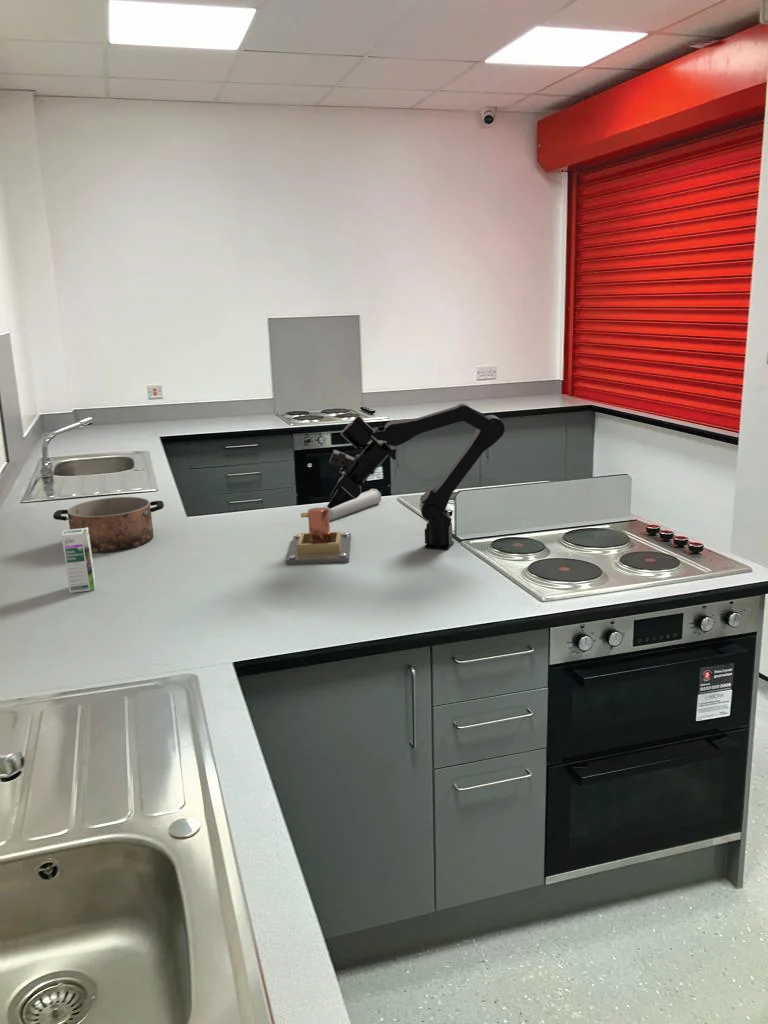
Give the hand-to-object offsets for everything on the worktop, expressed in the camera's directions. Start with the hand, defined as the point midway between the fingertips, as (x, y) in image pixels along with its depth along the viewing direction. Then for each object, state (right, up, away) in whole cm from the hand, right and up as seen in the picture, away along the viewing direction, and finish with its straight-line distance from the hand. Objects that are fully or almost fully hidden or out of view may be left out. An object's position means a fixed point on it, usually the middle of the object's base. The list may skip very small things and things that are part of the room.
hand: (329, 503), depth 217 cm
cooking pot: (-63, -11, +19) cm, 67 cm away
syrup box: (-58, -21, -19) cm, 65 cm away
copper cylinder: (-4, -12, +3) cm, 12 cm away
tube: (+4, -3, +41) cm, 42 cm away
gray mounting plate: (-3, -13, +3) cm, 13 cm away
